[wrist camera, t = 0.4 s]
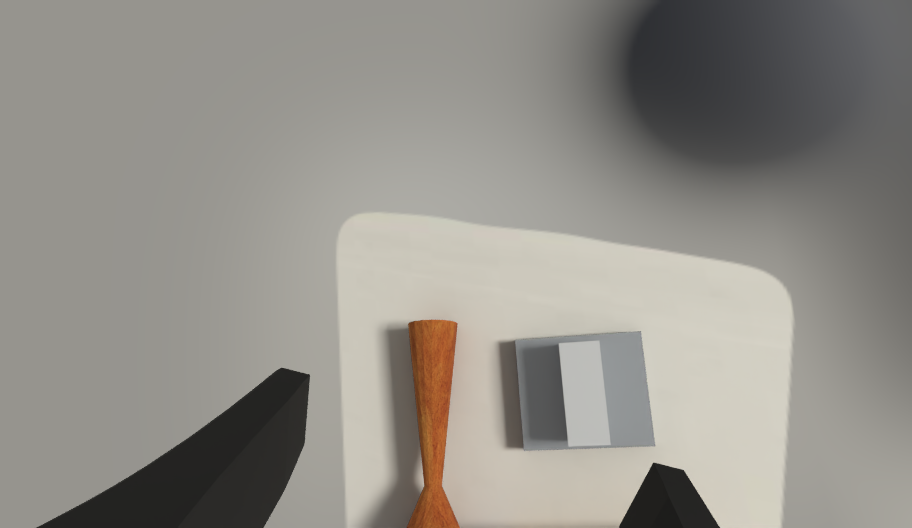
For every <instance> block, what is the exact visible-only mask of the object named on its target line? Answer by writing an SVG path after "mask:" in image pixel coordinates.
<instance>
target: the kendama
mask: <svg viewBox="0 0 912 528" xmlns="http://www.w3.org/2000/svg"><path fill="white" fill-rule="evenodd" d="M408 327H409V337H410V347H411V357H412V367H413V377H414V387H415V397H416V407H417V417H418V427H419V437H420V447H421V457H422V467H423V476H424V488H423V490H422V493H421V495H420V497H419V500H418V502H417V505H416V507H415V509H414V512H413V514H412V516H411V519H410V521H409V524H408V526H407V528H460V527H459V525H458V522H457V520H456V518H455V515H454V513H453V511H452V508H451V506H450V504H449V501H448V499H447V497H446V494H445V492H444V490H443V487H442V477H443V467H444V457H445V446H446V436H447V426H448V415H449V405H450V395H451V384H452V374H453V364H454V353H455V343H456V333H457V323H456V322H453V321H446V320H421V321H414V322H410V323H409V324H408Z"/></svg>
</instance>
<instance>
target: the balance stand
mask: <svg viewBox="0 0 912 528" xmlns="http://www.w3.org/2000/svg"><path fill="white" fill-rule="evenodd" d="M515 346H516V358H517V370H518V383H519V395H520V408H521V420H522V432H523V445H524V451H532V450H560V449H588V448H617V447H645V446H655V441H654V433H653V425H652V417H651V409H650V401H649V393H648V385H647V377H646V369H645V361H644V353H643V345H642V337H641V331H637V332H622V333H608V334H594V335H580V336H565V337H551V338H537V339H523V340H515Z"/></svg>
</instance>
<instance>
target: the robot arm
mask: <svg viewBox="0 0 912 528" xmlns="http://www.w3.org/2000/svg"><path fill="white" fill-rule="evenodd" d="M309 380H310V375H309V374H305V373H300V372H297V371H293V370H289V369H285V368H280V369H278V370H277V371H275V372H274V373H273V374H272V375H270V376H269V377H268V378H267V379H265V380H264V381H263V382H262V383H260V384H259V385H258V386H257V387H255V388H254V389H253V390H252V391H250V392H249V393H248V394H247V395H245V396H244V397H243V398H242V399H240V400H239V401H238V402H236V403H235V404H234V405H233V406H231V407H230V408H229V409H227V410H226V411H225V412H223V413H222V414H221V415H219V416H218V417H216V418H215V419H214V420H212V421H211V422H210V423H208V424H207V425H206V426H204V427H203V428H201V429H200V430H199V431H198V432H196V433H195V434H193V435H192V436H191V437H189V438H188V439H186V440H185V441H183V442H182V443H180V444H179V445H177V446H176V447H174V448H173V449H171V450H170V451H168V452H167V453H165V454H164V455H162V456H161V457H159V458H158V459H156V460H155V461H153V462H152V463H150V464H149V465H147V466H146V467H144V468H142V469H141V470H139V471H137V472H136V473H134V474H133V475H131V476H129V477H128V478H126V479H124V480H123V481H121V482H119V483H118V484H116V485H114V486H113V487H111V488H109V489H107V490H106V491H104V492H102V493H101V494H99V495H97V496H95V497H94V498H92V499H90V500H88V501H86V502H84V503H83V504H81V505H79V506H77V507H75V508H73V509H71V510H69V511H68V512H65V513H64V514H62V515H60V516H58V517H56V518H54V519H52V520H50V521H48V522H47V523H45V524H43V525H41V526H39V527H37V528H263V527H264V526H265V524H266V522H267V520H268V519H269V517H270V515H271V513H272V512H273V510H274V508H275V506H276V505H277V502H278V501H279V499H280V497H281V496H282V494H283V492H284V490H285V488H286V486H287V483H288V481H289V479H290V476H291V474H292V472H293V470H294V468H295V465H296V463H297V461H298V458H299V456H300V453H301V451H302V449H303V446H304V443H305V430H306V418H307V405H308V392H309ZM619 528H720V527H719V526H718V524H717V522H716V521H715V519H714V518H713V516H712V514H711V513H710V511H709V510H708V508H707V506H706V505H705V503H704V502H703V500H702V498H701V497H700V495H699V494H698V492H697V490H696V489H695V487H694V486H693V484H692V483H691V481H690V479H689V478H688V476H687V475H686V473H685V472H684V470H681V469H677V468H673V467H669V466H665V465H661V464H657V463H653V464H652V466H651V468H650V470H649V472H648V474H647V476H646V477H645V479H644V481H643V483H642V485H641V487H640V489H639V490H638V492H637V494H636V496H635V498H634V500H633V502H632V504H631V505H630V507H629V509H628V511H627V513H626V515H625V517H624V518H623V520H622V522H621V524H620V526H619Z"/></svg>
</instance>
